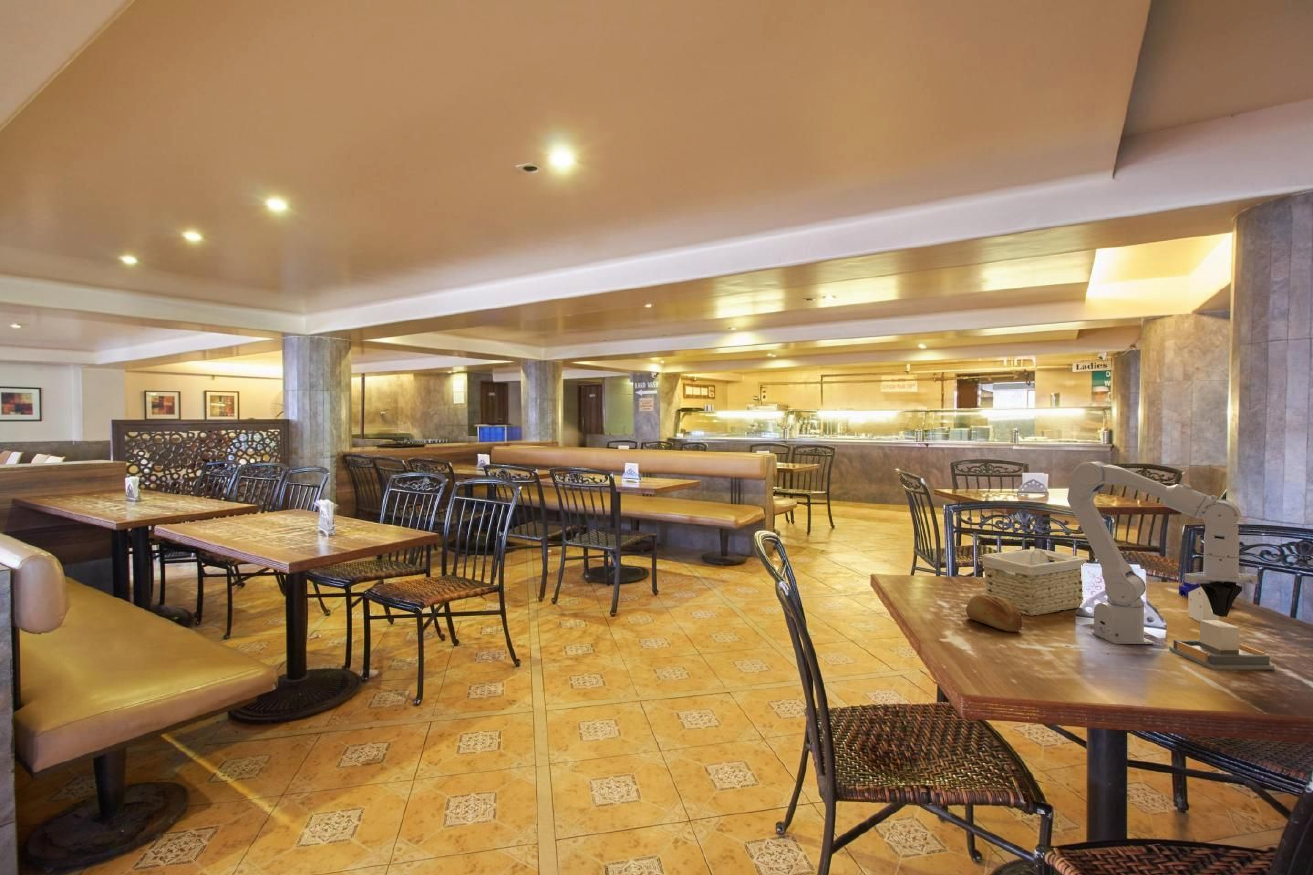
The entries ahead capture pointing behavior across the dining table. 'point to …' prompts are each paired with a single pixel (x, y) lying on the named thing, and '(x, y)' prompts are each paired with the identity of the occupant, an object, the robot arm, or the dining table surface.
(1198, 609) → the white angled block
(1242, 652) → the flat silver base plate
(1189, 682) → the dining table surface
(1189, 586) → the cable clip
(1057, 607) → the storage basket
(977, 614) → the bread roll
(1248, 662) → the rail panel
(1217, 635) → the block
